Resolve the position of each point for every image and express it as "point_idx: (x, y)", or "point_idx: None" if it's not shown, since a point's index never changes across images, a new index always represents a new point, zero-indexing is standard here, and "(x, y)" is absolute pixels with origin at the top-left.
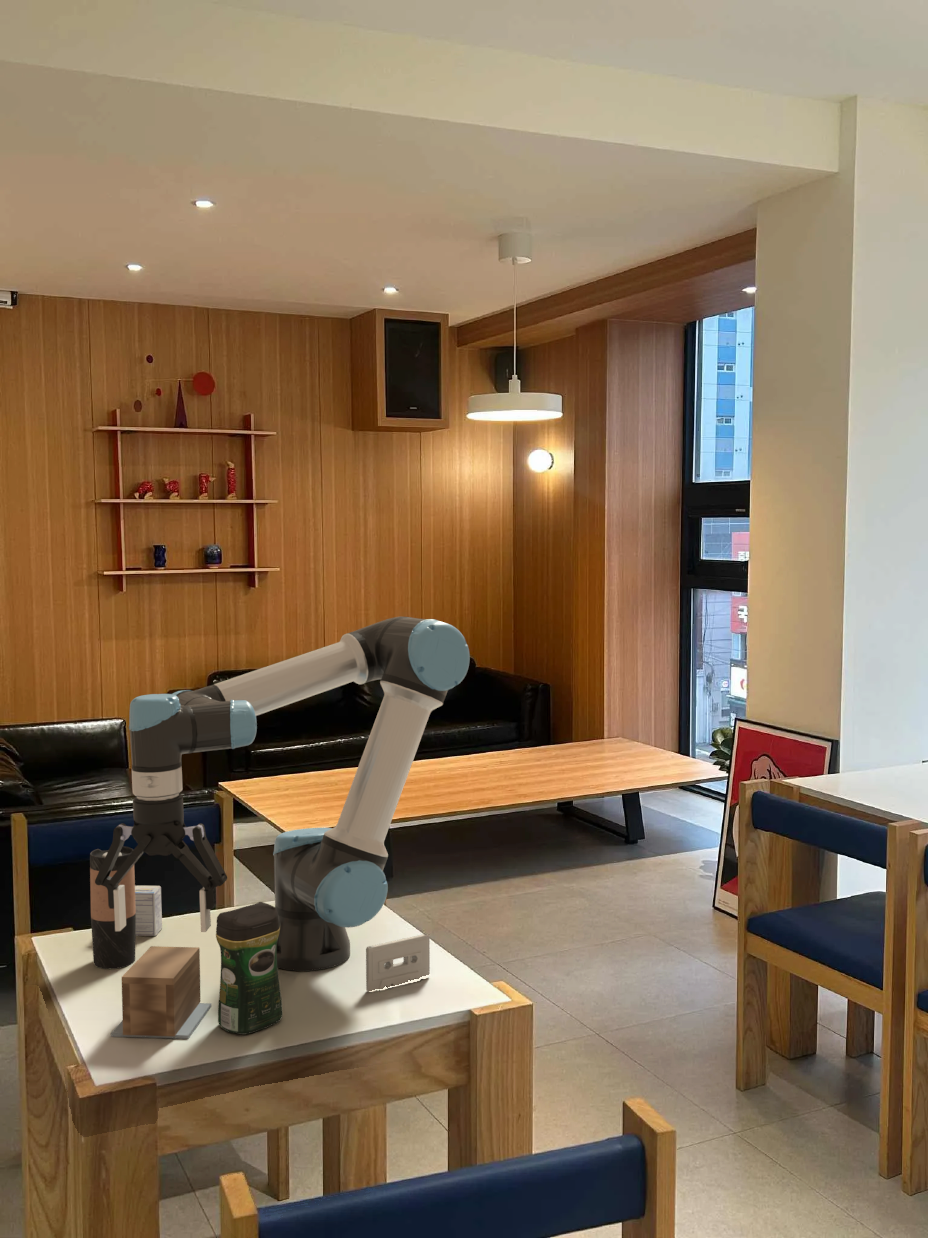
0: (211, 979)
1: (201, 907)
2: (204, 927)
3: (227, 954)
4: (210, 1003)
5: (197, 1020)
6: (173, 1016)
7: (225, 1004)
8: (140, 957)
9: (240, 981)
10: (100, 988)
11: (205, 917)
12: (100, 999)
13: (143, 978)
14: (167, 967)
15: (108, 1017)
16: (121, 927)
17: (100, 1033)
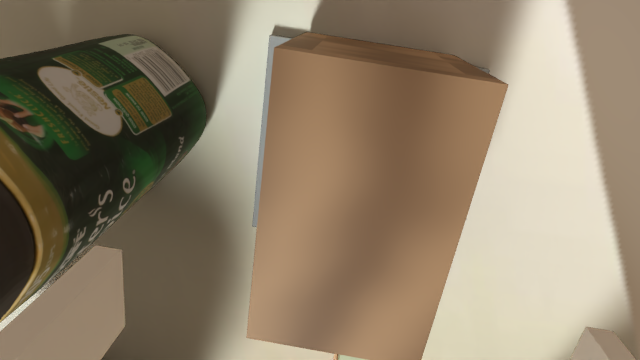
0: (285, 356)
1: (3, 355)
2: (86, 262)
3: (8, 112)
4: (254, 226)
5: (265, 130)
6: (300, 36)
7: (143, 75)
8: (445, 280)
9: (27, 59)
10: (535, 347)
11: (39, 303)
12: (532, 291)
13: (407, 68)
14: (323, 172)
15: (504, 190)
16: (583, 357)
17: (518, 93)
